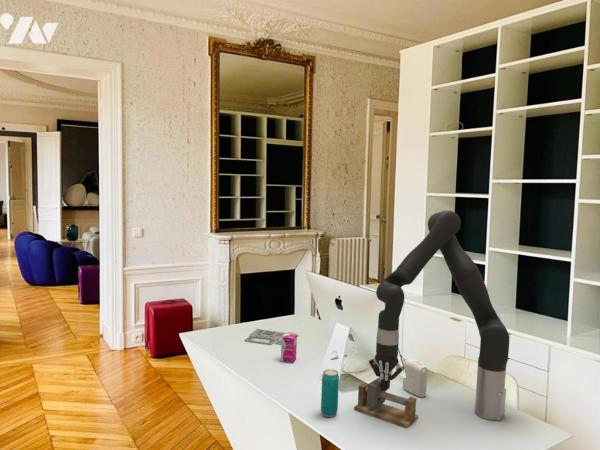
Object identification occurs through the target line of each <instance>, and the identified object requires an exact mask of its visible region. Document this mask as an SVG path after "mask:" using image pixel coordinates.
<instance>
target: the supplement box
mask: <svg viewBox="0 0 600 450" xmlns="http://www.w3.org/2000/svg"><path fill="white" fill-rule="evenodd" d="M297 335H298V334H297ZM297 335H294V334H284V335H283V337H282V344H281V345H280V347H281V349H280V351H281V352H280V362H281V363H288V364H294V362H295V361H296V360H297V348H298V347H297V344H298V337H297Z"/></svg>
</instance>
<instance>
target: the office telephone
mask: <svg viewBox="0 0 600 450" xmlns="http://www.w3.org/2000/svg"><path fill="white" fill-rule="evenodd" d="M284 334H294V335H297V338H298V337H299V336H300V335H299V334H296V333H295V332H293V331H288V332H283V331H282V332H281V331H275V330H274V331H273V330H266V329H261V328H256V329H255V330H253V331H252V332H251V333H250V334H249V336H248V337H246V338H244V342H246V343H251V344H260V345H266V346H272V345H274V344H275V345H276V346H277V345H278V346H281V344H282V337H283V335H284ZM254 339H255V340H254ZM256 339H258V340H266V341H258V340H256Z"/></svg>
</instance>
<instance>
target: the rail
mask: <svg viewBox="0 0 600 450" xmlns="http://www.w3.org/2000/svg"><path fill="white" fill-rule="evenodd" d="M368 384H369V383H367V382H363V383H361V384H360V385H358V393H357V394H358V395H357V396H358V397H357V404H356V405H355V406H353V409H354V411H357V412H358V413H362V414H365V415H368V416H370V417H373V418H376V419H379V420H381V421H383V422H384V421H385V422H388V423H391V424H393V425H396V426H399V427H402V428H405V429H408V428H409V427H410V426H411V425H412V424H413V423H414V422H416V421H417V420H418V419H419V414H416V412H417V411H416V410H417V398H416V397H413V396H409V397H408V398H406V397H403V396H400V395H396V394H393V393H390V392H387V391H386V392H384V391H381V390H379V391H378V398H382V399H385V401H388V402H389V401H390V402H391V403H396V404H398V405H402V406H405V407H404V408H405V409H404V410H403V409H401V408H397V407H395V406H391V405H389V404H386V403H382V404H381V405H379V406H378V407H377V408H375V409H372V408H369V407H367V391H368Z"/></svg>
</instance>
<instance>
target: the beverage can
mask: <svg viewBox="0 0 600 450" xmlns="http://www.w3.org/2000/svg"><path fill="white" fill-rule="evenodd" d="M339 381H340V376H339V371H338V370H335V369H333V368H332V369H329V368H327V369H324V370H323V373H322V375H321V396H320V397H321V399H320V411H321V413H322V416H324V417H326V418H334V417H335V416H336V414H337V413H338V409H339V408H338V407H339V385H340V382H339Z"/></svg>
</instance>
